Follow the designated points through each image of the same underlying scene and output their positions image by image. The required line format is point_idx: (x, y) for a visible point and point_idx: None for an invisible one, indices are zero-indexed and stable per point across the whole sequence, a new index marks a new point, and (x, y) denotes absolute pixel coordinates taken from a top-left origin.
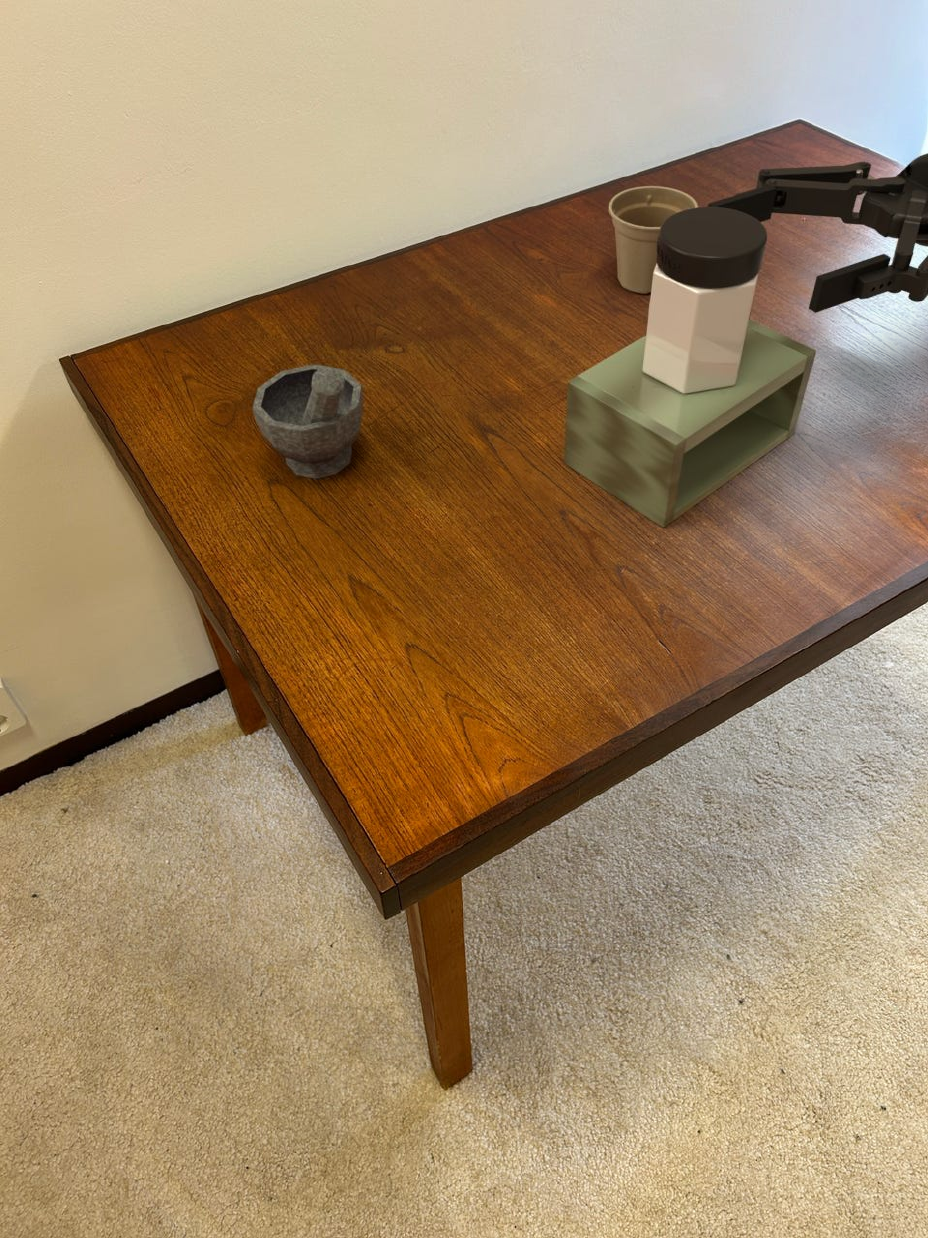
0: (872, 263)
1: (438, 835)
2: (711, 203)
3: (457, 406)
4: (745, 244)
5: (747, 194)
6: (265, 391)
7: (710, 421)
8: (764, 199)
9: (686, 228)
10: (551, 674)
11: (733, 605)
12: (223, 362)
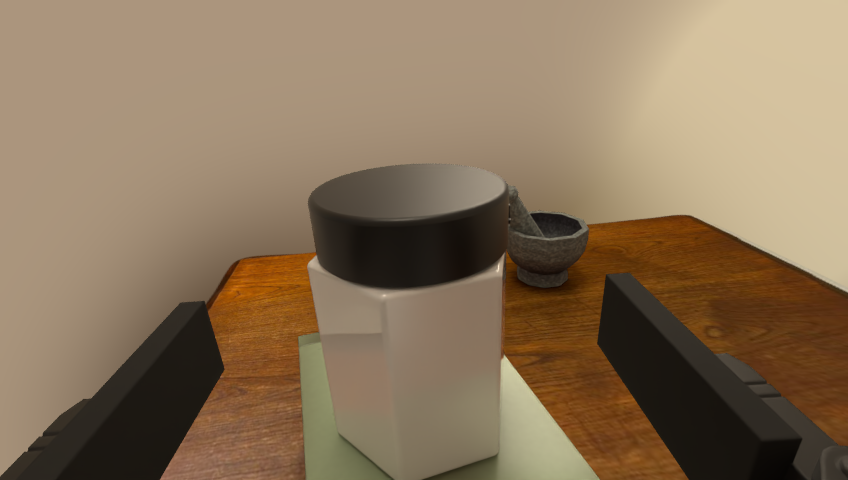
0: (75, 418)
1: (234, 271)
2: (630, 277)
3: (594, 349)
4: (333, 195)
5: (686, 344)
6: (560, 216)
7: (301, 376)
8: (713, 423)
9: (438, 174)
10: (263, 321)
11: (186, 442)
12: (682, 254)
